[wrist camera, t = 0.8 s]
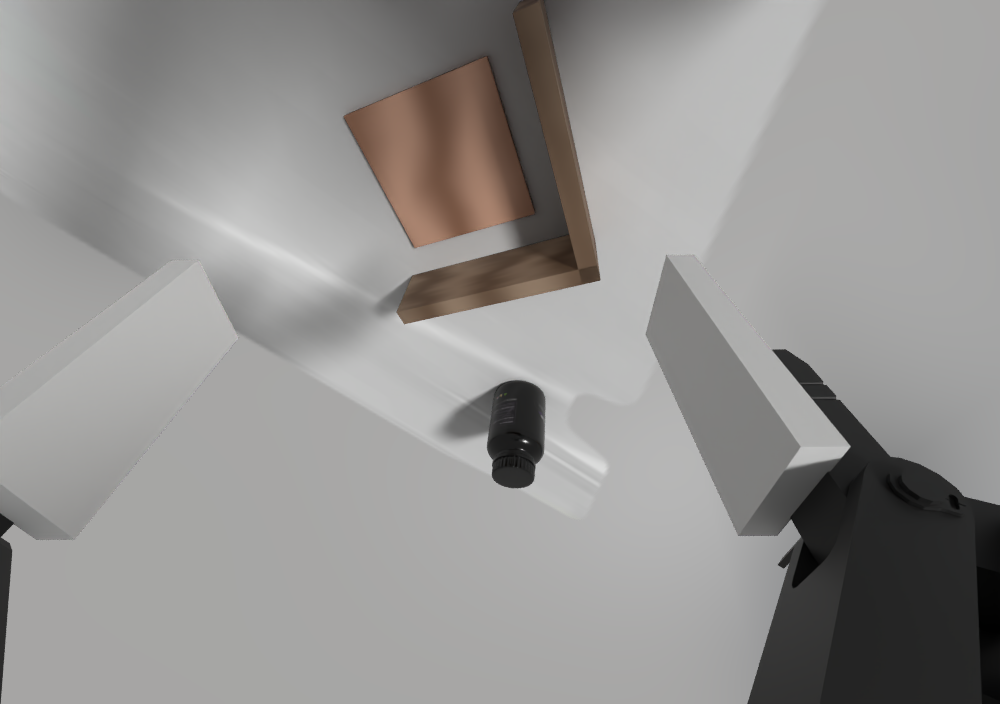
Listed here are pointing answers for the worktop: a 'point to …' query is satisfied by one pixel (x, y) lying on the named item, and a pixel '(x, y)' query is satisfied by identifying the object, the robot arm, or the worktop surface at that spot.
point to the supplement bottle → (516, 433)
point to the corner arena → (478, 178)
